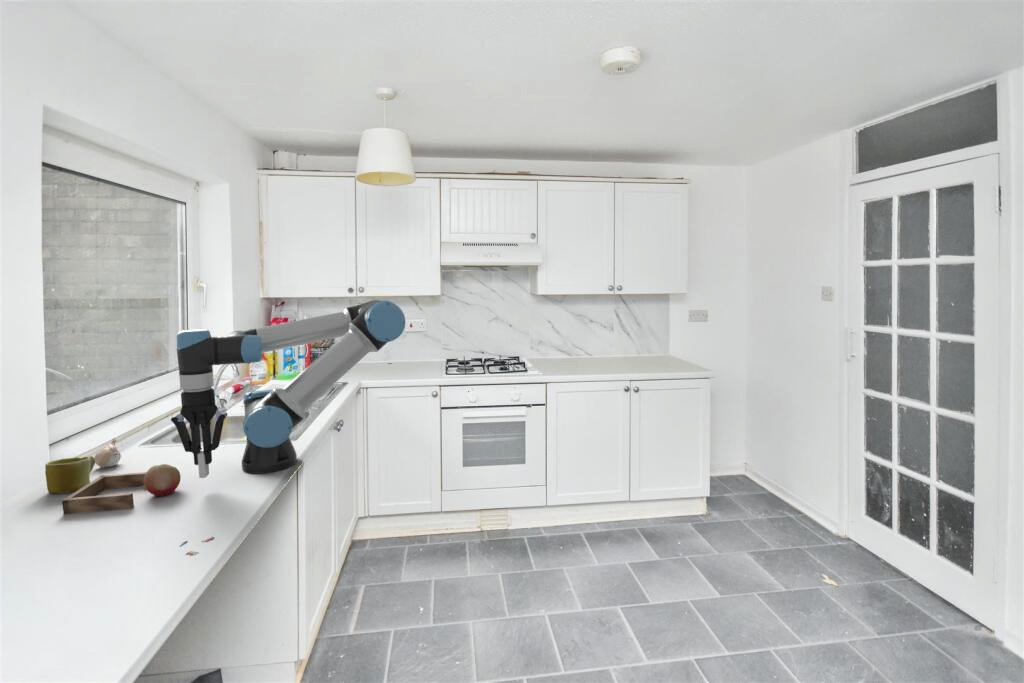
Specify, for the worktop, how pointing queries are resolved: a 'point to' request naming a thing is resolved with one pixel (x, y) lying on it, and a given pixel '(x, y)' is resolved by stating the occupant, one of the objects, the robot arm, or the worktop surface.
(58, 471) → the mug
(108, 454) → the garlic bulb
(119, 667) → the worktop surface
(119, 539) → the worktop surface
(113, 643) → the worktop surface
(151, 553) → the worktop surface
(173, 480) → the fruit
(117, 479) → the wooden frame
